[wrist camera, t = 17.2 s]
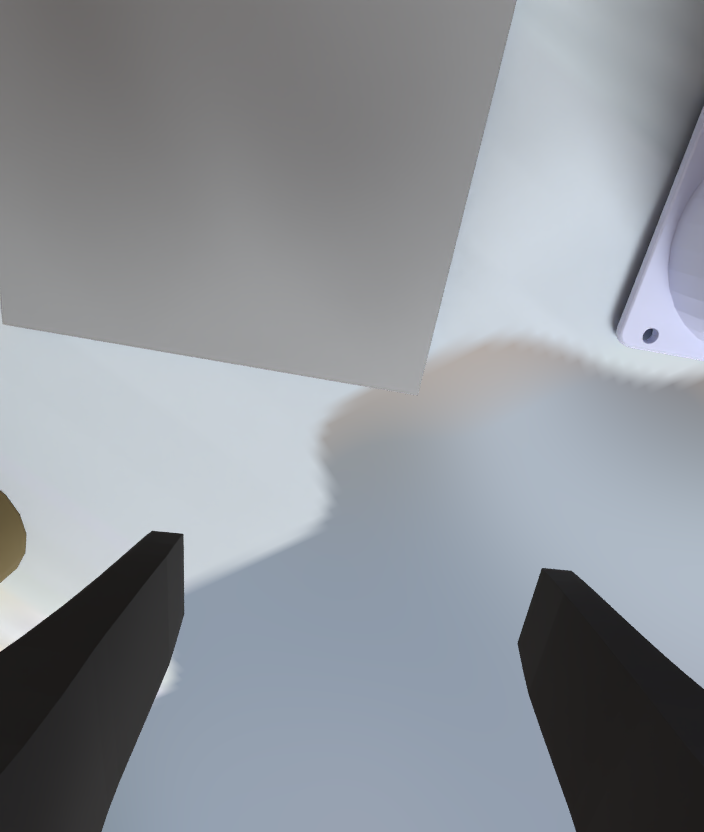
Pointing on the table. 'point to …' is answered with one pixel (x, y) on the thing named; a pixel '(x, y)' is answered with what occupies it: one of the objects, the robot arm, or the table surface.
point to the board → (242, 174)
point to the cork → (10, 538)
